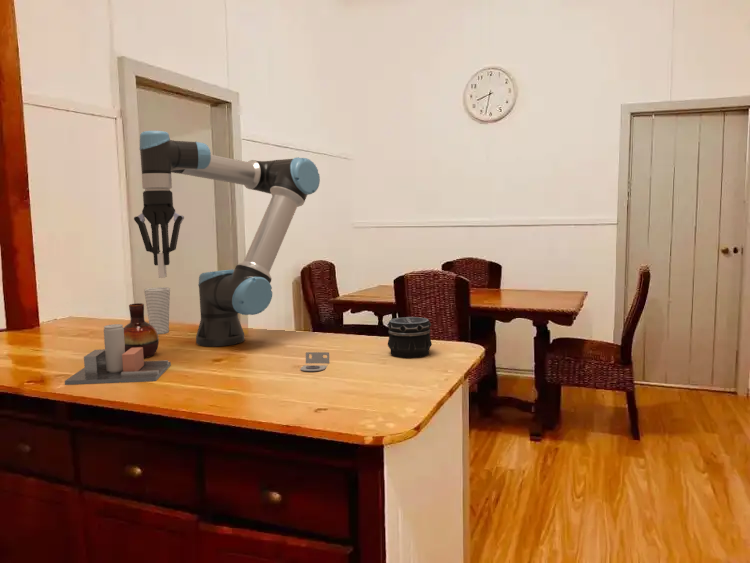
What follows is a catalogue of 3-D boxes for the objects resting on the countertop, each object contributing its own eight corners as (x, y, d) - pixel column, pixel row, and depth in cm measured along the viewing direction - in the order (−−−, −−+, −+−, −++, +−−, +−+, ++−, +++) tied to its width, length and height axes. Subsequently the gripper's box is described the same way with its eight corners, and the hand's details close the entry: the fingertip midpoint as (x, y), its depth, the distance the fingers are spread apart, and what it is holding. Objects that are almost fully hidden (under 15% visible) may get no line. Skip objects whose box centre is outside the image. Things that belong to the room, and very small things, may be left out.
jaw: (144, 365, 170) (142, 347, 169) (135, 373, 162) (134, 354, 161) (132, 365, 170) (131, 347, 169) (123, 373, 162) (122, 354, 161)
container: (379, 352, 185) (379, 318, 184) (417, 347, 191) (417, 314, 190) (401, 361, 174) (400, 325, 173) (440, 355, 180) (440, 321, 179)
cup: (147, 331, 223) (144, 288, 222) (172, 329, 226) (170, 286, 224) (146, 336, 215) (143, 291, 214) (172, 334, 218) (169, 289, 216)
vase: (167, 352, 190) (164, 301, 188) (144, 361, 179) (140, 307, 178) (135, 350, 193) (132, 301, 191) (111, 359, 182) (107, 306, 181)
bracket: (298, 373, 164) (297, 361, 164) (306, 364, 174) (305, 352, 174) (322, 374, 164) (322, 361, 163) (329, 364, 174) (329, 352, 173)
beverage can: (120, 367, 169) (117, 323, 167) (129, 370, 166) (126, 325, 164) (103, 371, 165) (99, 326, 164) (112, 374, 162) (109, 328, 161)
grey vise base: (170, 365, 174) (169, 343, 174) (155, 381, 158) (154, 357, 158) (88, 368, 173) (87, 346, 172) (64, 384, 157) (63, 361, 156)
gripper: (185, 190, 174) (189, 275, 177) (136, 190, 173) (142, 276, 176) (179, 189, 166) (184, 278, 169) (128, 190, 165) (134, 279, 168)
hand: (162, 277), depth 172 cm, fingers closed
